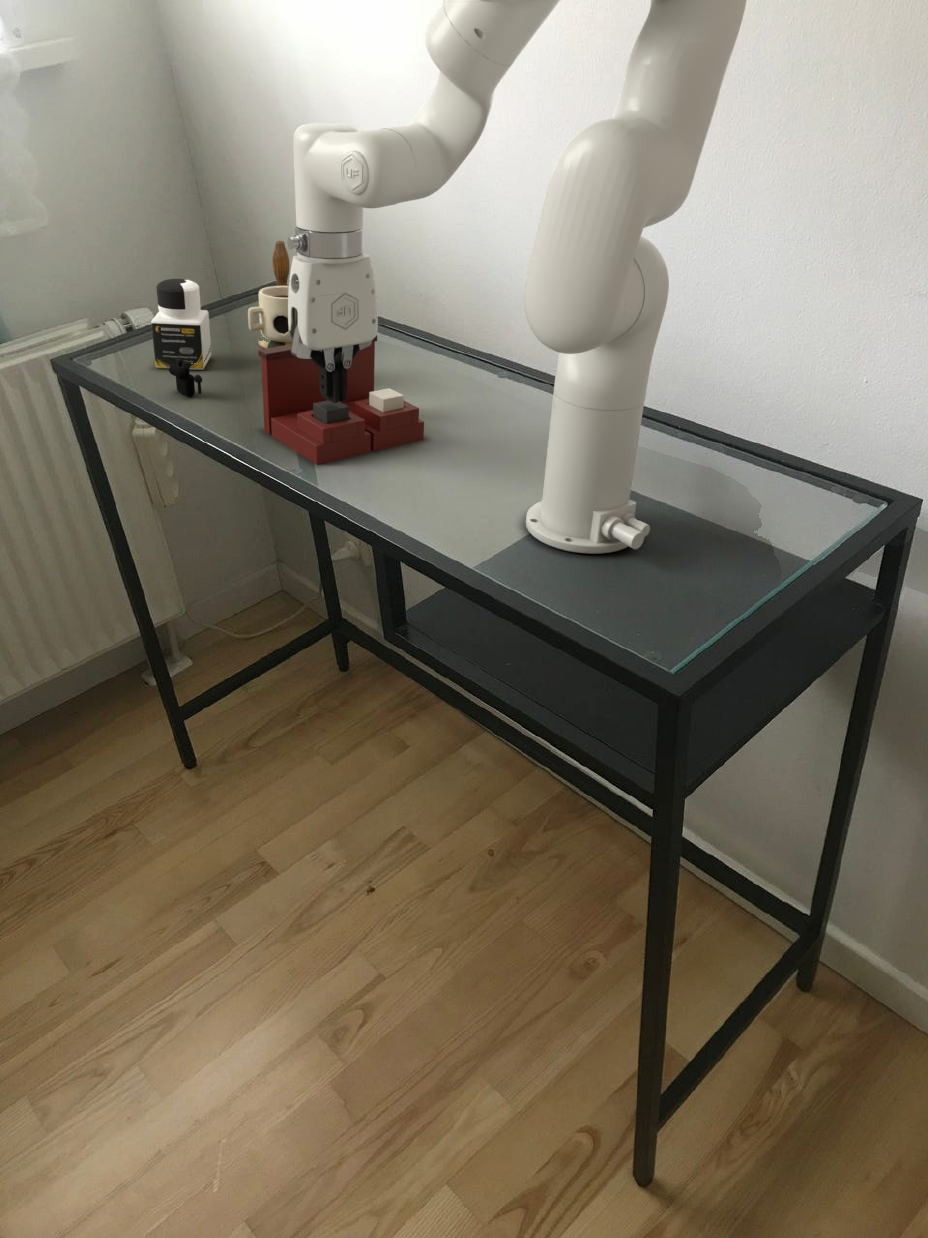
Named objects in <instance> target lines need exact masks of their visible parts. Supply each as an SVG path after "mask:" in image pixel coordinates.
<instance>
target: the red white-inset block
mask: <svg viewBox="0 0 928 1238" xmlns="http://www.w3.org/2000/svg"><path fill="white" fill-rule="evenodd" d="M343 404H345V405H346V406H348V407H349V411H350V412H351V413H353V414H355V415H357V416H359V417H360V418H362V419H364V420H365V431H367V432H369V433H370V434H371V451H372V452H377V451H381V450H384V449H389V448H393V447H397V446H401V445H406V444H410V443H415V442H418V441H423V440H424V437H425V421H424V420H423V419H420V408H419V407H417V406H416V405H414V404H412V403H410V402H408V401H406V400H404V406H403V408H400V409H396V410H391V411H386V412H381V411H380V410H378V409H376V408H374V407H372V406H370V405H369V398H366V399H362V400H357V401H352V402H347V403H343Z"/></svg>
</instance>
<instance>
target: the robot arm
mask: <svg viewBox="0 0 928 1238" xmlns="http://www.w3.org/2000/svg"><path fill="white" fill-rule="evenodd" d="M560 1H561V0H443V1H442V3H441V4H440V6H439V7H438V9H437V10H436V12H435V14H434V15H433V16H432V18H430V21H429V22H428V24H427V26H426V28H425V33H424V43H425V47H426V50H427V52H428V55H429V57H430V59H431V60H432V62H433V64H434V65H435V66H436V67H437V69H438V70H439V71H438V75H437V79H436V82H435V84H434V86H433V88H432V90H431V92H430V93H429V95H428V97H427V98H426V100H425V101H424V103H423V104H422V106H421V107H420V109H419V110H418V111H417V113H416V114H415V116H414V117H413V118H412V119H411V120H410V122H409V123H408V124H407V125H400V126H392V127H383V128H378V129H370V130H361V131H359V130H358V129H357V128H355V127H354V126H351V125H348V124H343V123H333V122H311V123H305V124H302V125H300V126H298V127H297V128H296V129H295V131H294V134H293V138H292V139H293V140H292V150H293V151H292V152H293V174H294V178H293V179H294V201H295V202H294V203H295V229H294V230H295V235H293V236H288V238H287V246H288V249H289V250H295V252H296V253H297V255H293V256H292V260H291V265H290V271H289V280H288V281H289V282H288V286H289V293H288V326H289V335H290V338H291V339H292V340H293V343H292V349H291V353H292V355H294V356H296V357H298V358H303V359H311V360H312V361H313V362H314V363H315V365H316V366H318V367H319V383H320V392H321V395H322V397H323V398H325V399H327V400H329V401H331V402H333V403H338V402H339V401H341V402H342V401H346V391H347V369H348V368H350V366H351V364H352V359H353V358H354V356H355V355H356V353H357V352H358V350H362V349H364V348H366V347H368V346H370V345H371V344H372V339H374V338H375V337H376V335H377V336H378V331H379V330H378V329H379V328H378V327H379V319H378V318H379V317H378V300H377V290H376V281H375V275H374V270H373V265H372V261H371V258H370V257H371V256H370V254H368V253H366V252H364V209H379V208H380V209H381V208H384V207H389V206H394V205H398V204H402V203H405V202H411V201H416V200H421V199H425V198H427V197H431V196H432V195H433V194H435V193H436V192H438V191H439V190H440V189H442V187H443V186H445V184H447V182H448V181H449V180H451V178H452V177H453V175H454V174H455V173H456V172H457V171H458V169H459V168H460V166H461V165H462V164H463V163H464V161H465V160H466V158H467V157H468V156H469V155H470V153H471V152H472V151H473V149H474V148H475V146H476V145H477V144H478V142H479V140H480V138H481V136H482V134H483V133H484V130H485V127H486V125H487V122H488V119H489V116H490V113H491V109H492V106H493V102H494V96H495V90H496V88H497V87H498V85H499V84H500V82H501V81H502V80H503V78H504V77H505V76H506V74H507V72H508V71H510V69H511V67H512V66H513V65H514V63H515V62H516V60H517V59H518V58H519V56H520V55H521V54H522V52H523V51H524V49H525V48H526V47H527V46H528V44H529V43H530V41H531V40H532V39H533V37H534V36H535V34H536V33H537V32H538V31H539V29H540V28H541V27H542V25H543V24H544V23H545V22H546V20H547V19H548V17H549V16H550V15H551V13H552V12H553V11H554V9H555V8H556V7H557V5H558V4H559V2H560ZM746 5H747V0H650V7H649V10H648V13H647V17H646V19H645V21H644V24H643V25H642V28H641V29H640V31H639V33H638V36H637V37H636V40H635V42H634V44H633V46H632V49H631V52H630V56H629V58H628V60H627V61H628V62H627V66H626V69H625V74H624V79H623V83H622V87H621V90H620V92H619V97H618V99H617V103H616V106H615V108H614V112H613V114H612V116H611V117H610V118H606V119H602V120H599V121H596V122H593V123H591V124H589V125H586V126H585V127H584V128H582V129H580V131H578V132H577V133H576V134H574V136H572V138H571V139H570V140H569V141H568V142H567V144H566V145H565V146H564V148H563V150H562V151H561V153H560V155H559V157H558V159H557V160H556V162H555V164H554V167H553V170H552V172H551V175H550V178H549V182H548V186H547V188H546V189H547V190H546V193H545V197H544V202H543V205H542V210H541V213H540V218H539V222H538V225H537V226H538V227H537V231H536V234H535V237H534V238H535V239H534V243H533V247H532V251H531V256H530V260H529V264H528V268H527V273H526V277H525V284H524V293H523V303H524V312H525V317H526V320H527V323H528V326H529V327H530V330H531V331H532V333H533V335H534V336H535V338H536V339H537V340H538V341H539V342H540V343H541V344H542V345H544V346H545V347H546V348H548V349H549V350H552V351H554V352H556V353H558V357H557V358H558V359H557V364H556V369H555V376H554V383H553V394H552V401H551V402H552V403H551V412H550V423H549V432H548V442H547V451H546V462H545V468H544V469H545V470H544V479H543V489H542V498H541V500H540V501H538V502H536V503H534V504H533V505H531V506H530V507H529V508H528V510H527V512H526V516H525V527H526V529H527V531H528V532H529V533H530V534H531V535H532V537H534V538H535V539H537V540H538V541H540V542H541V543H542V544H544V545H547V546H549V547H553V548H555V549H558V550H562V551H565V552H571V553H575V554H576V553H577V554H589V555H593V554H594V555H597V554H600V555H601V554H610V553H615V552H619V551H621V550H624V549H626V548H628V547H629V548H631V549H633V550H638V549H640V547H642V545H643V544H644V540H645V537H647V536H648V535H649V534H650V531H651V526H650V525H649V524H647V523H646V522H643V521H641V520H638V519H637V518H636V516H635V515H636V510H637V509H636V508H637V502H636V501H635V500H633V499H630V497H631V491H632V485H633V478H634V473H635V467H636V466H635V464H636V460H637V452H638V446H639V439H640V433H641V427H642V419H643V413H644V407H645V401H646V397H647V396H646V395H647V389H648V385H649V384H648V383H649V378H650V371H651V367H652V366H651V365H652V360H653V356H654V351H655V347H656V344H657V341H658V337H659V333H660V330H661V327H662V323H663V319H664V316H665V312H666V308H667V304H668V299H669V287H670V280H669V271H668V268H667V264H666V261H665V259H664V257H663V254H662V253H661V252H660V250H659V249H658V247H657V246H656V245H655V244H654V243H652V242H651V240H649V239H648V238H646V237H644V236H642V234H643V231H644V229H646V228H647V227H648V228H649V227H651V226H654V225H656V224H658V223H660V222H662V221H665V220H667V219H668V218H671V217H672V216H673V215H674V214H675V213H677V212H678V210H679V209H681V208H682V206H683V204H685V202H686V200H687V198H688V196H689V195H690V191H691V189H692V186H693V182H694V179H695V176H696V172H697V169H698V166H699V162H700V159H701V155H702V153H703V149H704V146H705V144H706V143H705V142H706V140H707V137H708V133H709V130H710V127H711V124H712V121H713V117H714V114H715V111H716V107H717V105H718V100H719V98H720V97H719V96H720V94H721V89H722V86H723V83H724V80H725V76H726V74H727V70H728V66H729V63H730V60H731V57H732V54H733V52H734V48H735V45H736V43H737V39H738V36H739V33H740V29H741V25H742V23H743V18H744V14H745V10H746Z"/></svg>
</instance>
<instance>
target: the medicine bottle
mask: <svg viewBox="0 0 928 1238" xmlns="http://www.w3.org/2000/svg"><path fill="white" fill-rule="evenodd" d="M155 288H156V299H157V306H158V307H157V309H158V312H157V313H156V315H155V316H154V317H153V318H152V319H151V321H150V324H151V325H150V326H151V335H152V346H153V355H154V365H155V368H156V369H168V370H169V368H170V365H171V364H175V365H177V359H178V358H180V359H182V360H183V361H188V362H189V363H190V366H191V367H190V369H189V371H190V370H193V371H203V370H205V367H206V366H207V364H208V362H209V361H210V359H211V357H212V351H211V352H210V353H209V355H208V357H207V359H206V360H205V358H206V355H207V354H208V351H209V348H210V345H211V346H212V343H211V331H210V330H211V329H210V313H209V311H208V310H207V309H201V295H200V294H201V293H200V286H199V284H198V283H197V282H195V281H193V280H190V279H186V278H168V279H164V280H162V281H160V282H158V283H157V284H156V287H155ZM204 360H205V362H204ZM191 363H193V364H191ZM194 363H196V364H194ZM197 363H204V364H197ZM177 366H178V365H177ZM181 367H183V366H181Z"/></svg>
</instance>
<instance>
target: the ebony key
mask: <svg viewBox="0 0 928 1238" xmlns="http://www.w3.org/2000/svg"><path fill="white" fill-rule="evenodd" d="M313 417H314V418H316V419H318V420H320V421H321V422H323V423H325V424H326V425H327V424H330V423H335V422H340V421H344V420H349V407H348V406H346V405H345V404H343V403H341V402H338V403H333V402H331V401H329V400H328V401H323V402H318V403H313Z"/></svg>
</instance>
